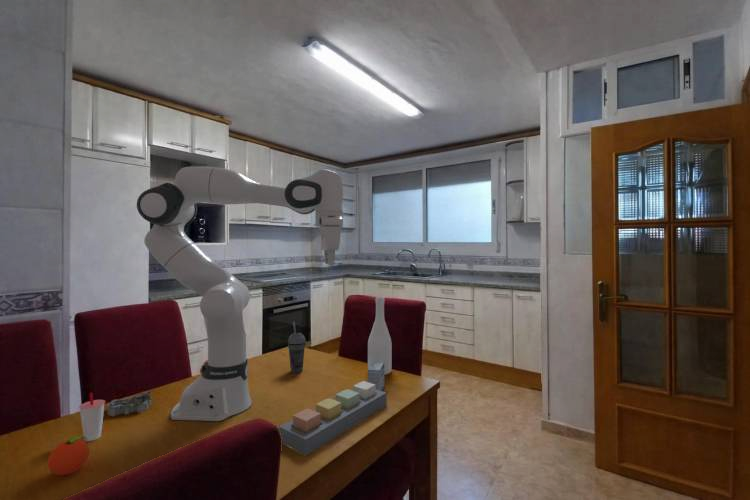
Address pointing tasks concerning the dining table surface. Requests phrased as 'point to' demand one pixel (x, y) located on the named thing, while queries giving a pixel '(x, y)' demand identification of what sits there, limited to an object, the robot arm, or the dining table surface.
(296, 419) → the button terracotta
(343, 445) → the dining table surface
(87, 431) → the cup
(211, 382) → the robot arm
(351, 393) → the button sage
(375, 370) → the medicine box
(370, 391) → the button cream
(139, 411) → the egg carton
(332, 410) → the button mustard
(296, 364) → the beverage cup
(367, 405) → the tray
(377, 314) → the grey bottle
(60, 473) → the clementine
